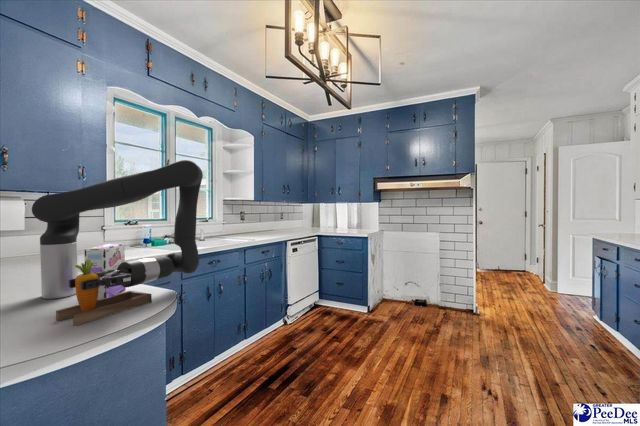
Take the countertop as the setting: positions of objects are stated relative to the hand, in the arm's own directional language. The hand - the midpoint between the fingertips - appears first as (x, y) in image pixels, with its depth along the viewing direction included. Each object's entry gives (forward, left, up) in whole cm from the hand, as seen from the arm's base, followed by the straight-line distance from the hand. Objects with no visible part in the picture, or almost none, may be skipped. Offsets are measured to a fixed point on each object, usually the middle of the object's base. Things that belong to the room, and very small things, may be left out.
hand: (75, 285), depth 79 cm
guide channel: (0, +8, -9) cm, 12 cm away
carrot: (0, +3, -9) cm, 10 cm away
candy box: (-16, +17, -9) cm, 25 cm away
